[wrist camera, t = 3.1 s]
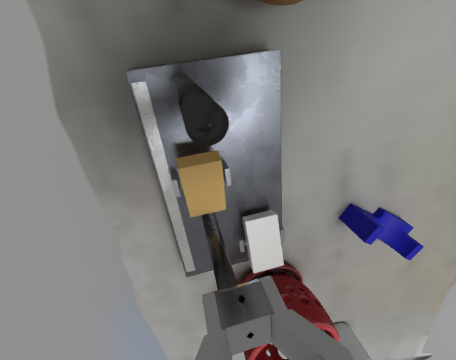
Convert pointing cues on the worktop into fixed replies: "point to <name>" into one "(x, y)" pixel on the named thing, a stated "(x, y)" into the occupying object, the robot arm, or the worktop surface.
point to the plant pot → (292, 306)
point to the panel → (215, 147)
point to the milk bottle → (351, 342)
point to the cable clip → (381, 229)
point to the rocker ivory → (263, 241)
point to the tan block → (202, 182)
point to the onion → (280, 2)
